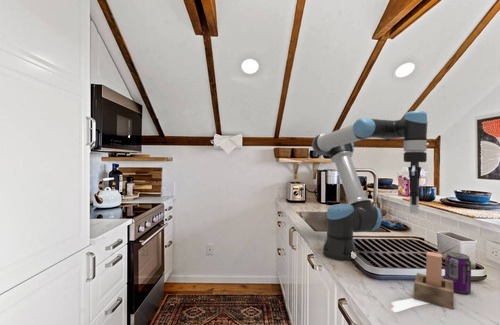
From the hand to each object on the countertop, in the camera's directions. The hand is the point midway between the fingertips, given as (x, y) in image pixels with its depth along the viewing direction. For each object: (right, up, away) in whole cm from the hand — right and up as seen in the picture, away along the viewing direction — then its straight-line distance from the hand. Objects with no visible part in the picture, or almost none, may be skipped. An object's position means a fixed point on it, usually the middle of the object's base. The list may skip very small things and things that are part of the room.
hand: (414, 212), depth 102 cm
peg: (-4, -24, -16) cm, 29 cm away
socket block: (-4, -24, -16) cm, 29 cm away
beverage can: (+8, -25, -11) cm, 28 cm away
